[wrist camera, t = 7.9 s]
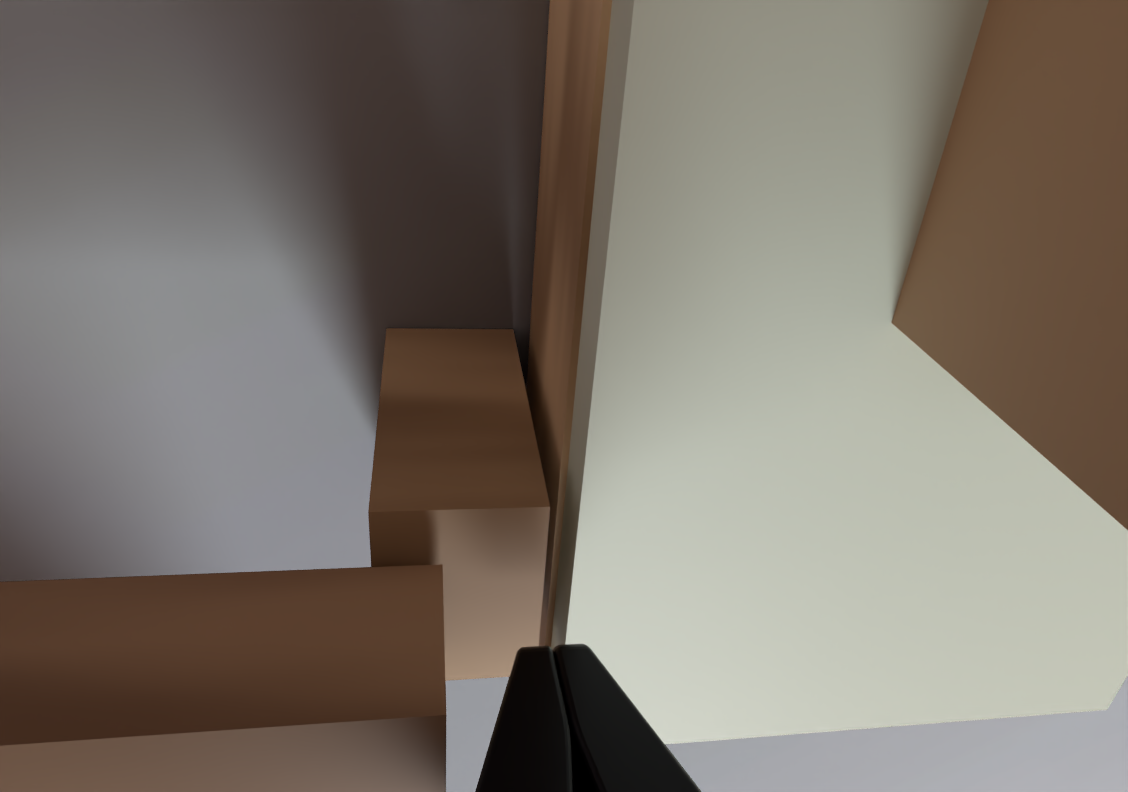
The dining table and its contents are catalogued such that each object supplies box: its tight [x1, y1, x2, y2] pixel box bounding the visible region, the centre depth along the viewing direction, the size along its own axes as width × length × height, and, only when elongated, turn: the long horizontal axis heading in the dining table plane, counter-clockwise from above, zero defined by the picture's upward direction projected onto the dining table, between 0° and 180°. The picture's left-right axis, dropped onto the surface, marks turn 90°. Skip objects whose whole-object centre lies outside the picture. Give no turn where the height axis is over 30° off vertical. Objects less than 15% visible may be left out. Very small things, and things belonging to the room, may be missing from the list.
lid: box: [551, 0, 1128, 744], centre depth 8 cm, size 16×10×6 cm, turn 176°
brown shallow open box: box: [368, 0, 612, 681], centre depth 12 cm, size 16×15×5 cm
